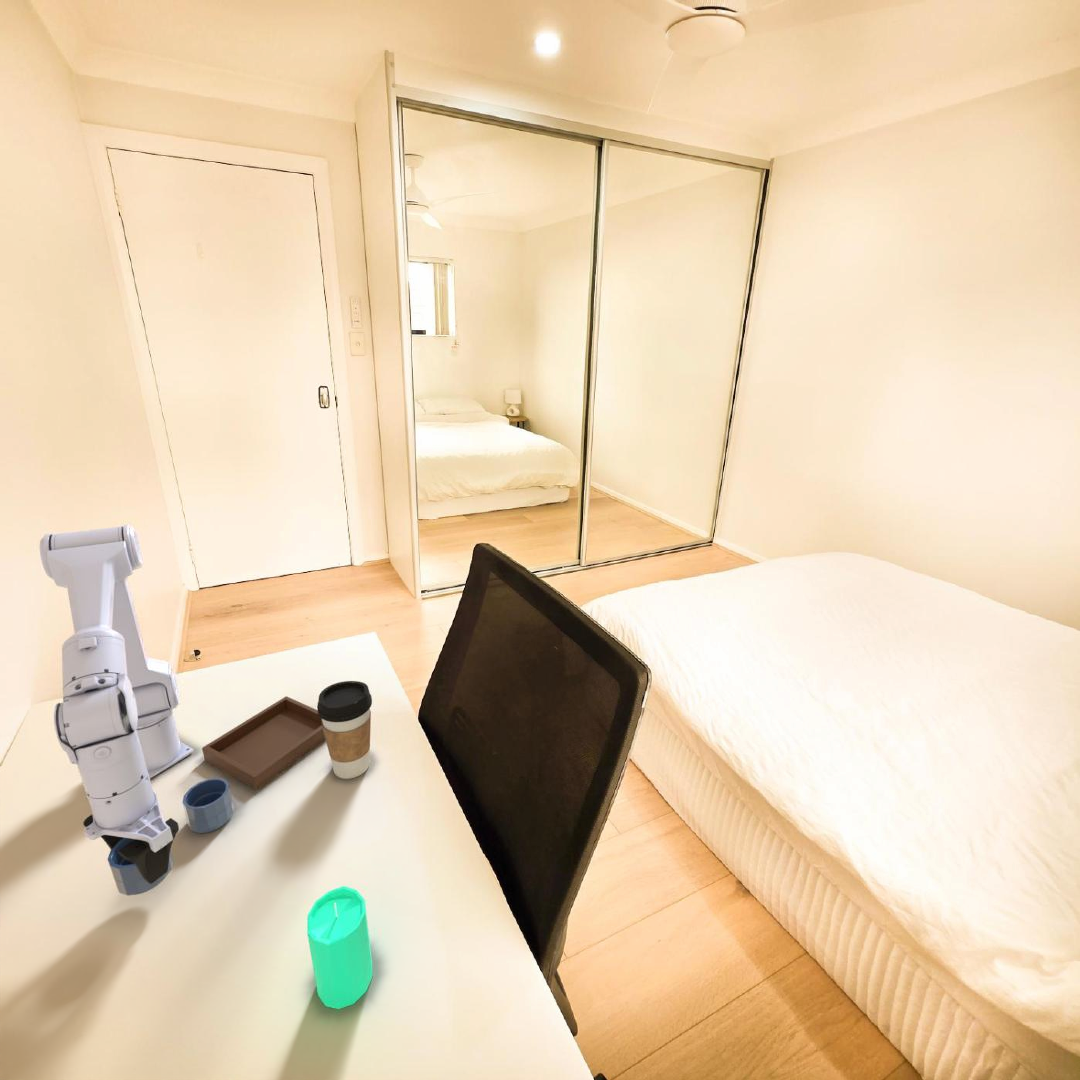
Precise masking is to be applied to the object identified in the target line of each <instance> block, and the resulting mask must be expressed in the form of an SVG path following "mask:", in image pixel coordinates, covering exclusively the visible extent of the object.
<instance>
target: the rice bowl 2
mask: <svg viewBox="0 0 1080 1080" xmlns="http://www.w3.org/2000/svg"><path fill="white" fill-rule="evenodd" d="M181 802H182V806H183V809H184V810H183V811H184V814H185V818H186V823H187V825H188V828H189V829H190V831H191V832H195V833H197V834H206V833H210V832H213V831H216V830H218V829H219V828H222V826H225V824H226V823H227V822H228V821H229V820H230V819H231V817H232V815H233V814H234V810H235V806H234V801H233V796H232V791H231V786H230V783H229V782H228V781H227V779H225V778H221V777H212V778H207V779H205V780H202V781H199V782H197V783H196V784H194V785H193V786H192V787H190V788H189V789H188V790H187V791H186V793H184V795H183V799H182V801H181Z"/></svg>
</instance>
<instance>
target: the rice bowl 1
mask: <svg viewBox="0 0 1080 1080" xmlns="http://www.w3.org/2000/svg"><path fill="white" fill-rule="evenodd" d="M133 840H134V839H131V838H123V839H121V840H120V841H118V843H117V844H116V845H115V846H114V847H113V848H112V849H110V851H109V854H108V857H107V862H108V865H109V868H110V872H111V875H112V877H113V881H114V883H115V886H116V889H117V892H118V893H120V894H122V895H125V896H137V895H143V894H144V893H147V892H149V891H151V890H153V889H154V888H157V886H159V885H160V884H161V883H163V881H164V880H165V879H166V877H167V876H168V875H169V874H170V873H171V871H172V869H173V866H174V862H175V861H174V857H173V853H172V848H171V849H170V856H169V866H168V871H167V872H166V873H165V874H164V875H163V876H161V877H160V878H159V879H157V880H156V881H155V882H153V883H152V884H150V883H148V882H147V881H146V880H145V879H144V878H143V876H142V875H141V873H140V871H139V870H138V868H137V866H136V865H135V864H134V863H132V862H130V861H128V860H126V859H125V858H124V857H123V856H121V855H120V854H119V853H118V850H120V849H121V848H123V847H124V846H126V845H127V844H129V843H130V842H131V841H133Z"/></svg>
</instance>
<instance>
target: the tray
mask: <svg viewBox="0 0 1080 1080" xmlns="http://www.w3.org/2000/svg"><path fill="white" fill-rule="evenodd" d="M321 721H322V718H321V717H320V716H319V715H318V709H317V708H314V707H311V706H309V705H307V704H306V703H305V704H304V703H302V702H300V701H299V700H296V699H293V698H291V697H289V696H287V695H286V696H283V698H281V699H279V700H277V701H276V702H274V703H273V704H271V705H269V706H267V707H265V708H264V709H263V710H261V711H260V712H258V713H256V714H254V715H253V716H252V717H250V718H248V719H246V720H245V721H243V722H242V723H240V724H238V725H237V726H235V727H234V728H232V729H230V730H229V731H227V732H225V733H224V734H222V735H220V736H219V737H217V738H215V739H214V740H212V741H211V742H209V743H207V744H206V745H204V746H203V747H202V748H201V750H202V755H203V759H204V761H206V762H207V763H209V764H211V765H213V766H214V767H216V768H218V769H219V770H220V771H222V772H224V773H226V774H227V775H230V776H231V777H233V778H234V779H236V780H238V781H240V782H242V783H243V784H245V785H246V786H248V787H250V788H252V789H253V790H255V791H258V790H259V789H260V788H262V787H263V786H264V785H266V784H267V783H268V782H269V781H271V780H272V779H273V778H275V777H276V776H277V775H279V774H281V772H283V771H284V770H286V769H287V768H288V767H290V766H291V765H293V764H294V763H295V762H297V761H298V760H299V759H300V758H302V757H303V756H305V755H306V754H307V753H309V752H310V751H311V750H313V749H314V748H315V747H316V746H318V745H319V744H321V743H322V742H323V741H324V740H326V739H325V735H324V731H323V727H322V723H321Z"/></svg>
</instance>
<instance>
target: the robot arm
mask: <svg viewBox="0 0 1080 1080" xmlns="http://www.w3.org/2000/svg"><path fill="white" fill-rule="evenodd" d="M136 531H137V530H136V529H135V528H134V527H133V526H131V525H130V524H123V526H121V525H120V526H112V527H103V528H96V529H85V530H79V531H69V532H62V533H61V532H60V533H45V534H44V535H43V537H42V538H41V539H40V541H39V556H40V560H41V564H42V567H43V570H44V572H45V574H46V576H47V577H48V578H50V579H52V580H53V581H54V584H55V585H56V587H60V588H65V589H67V595H68V601H69V607H70V614H71V619H72V625H73V632H74V634H72V635H71V636H69V637H68V638H67V639H66V640H65V641H64V642H63V644H62V646H61V662H62V663H61V664H62V665H61V666H62V667H61V668H62V669H61V670H62V674H61V675H62V702H57V703H56V704H55V705H54V711H53V725H54V730H55V731H54V732H55V734H56V737H57V741H58V743H59V745H60V747H61V749H62V750H63V751H64V752H65V753H66V755H67V757H68V759H69V761H70V762H69V763H70V764H72V765H76V767H77V769H78V773H79V776H80V778H81V782H82V784H83V787H84V790H85V791H84V792H85V794H86V798H87V801H88V803H89V806H90V809H91V814H90V815H89V816H87V817H86V818H85V819H84V820H83V826H84V827H85V828H84V829H83V832H84V835H85V837H87V838H88V839H89V840H90V841H95V840H98V839H99V838H101V839H102V840H103V841H104V842H105V843H106V845H107V847H108V848H109V849H110V850H111V849H112V848H113V847H114V846H115V845H116V844H117V843H118V841H120V840H121V839H123V838H131V839H134V840H133V841H131V842H130V843H129V844H127V845H126V846H124V847H123V848H121V849H120V850H118V853H119V854H120V855H121V856H123V857H124V858H125V859H126V860H128V861H130V862H132V863H134V864H135V865H136V866H137V868H138V870H139V871H140V873H141V875H142V876H143V878H144V879H145V880H146V881H147V882H148V883H150V884H152V883H153V882H155V881H156V880H157V879H159V878H160V877H161V876H163V875H164V874H165V873H166V872H167V871H168V866H169V856H170V849H171V850H172V845H173V842H174V840H175V838H176V836H177V834H178V832H179V830H180V825H179V822H178V821H176V820H175V819H174V818H172V817H170V818H168V819H167V820H165V819H164V816H163V811H162V809H161V806H160V802H159V798H158V795H157V793H156V792H155V791H154V788H153V785H152V781H151V779H152V778H154V777H155V776H157V775H159V774H161V772H164V771H165V770H168V768H171V766H173V765H175V764H177V763H178V762H179V761H182V760H183V759H185V758H186V757H188V756H190V755H191V754H193V753H194V748H192V747H191V746H189V745H187V744H185V743H183V742H182V741H181V739H180V736H179V732H178V727H177V723H176V720H175V719H176V718H175V715H174V711H173V710H174V709H176V708H177V707H178V706H179V704H180V693H179V686H178V682H177V678H176V674H175V673H174V671H173V668H172V665H171V664H170V663H169V661H166V660H162V659H157V658H152V657H148V653H147V651H146V650H147V649H146V645H145V642H144V639H143V634H142V630H141V628H140V624H139V623H140V622H139V620H138V616H137V615H138V614H137V612H136V608H135V605H134V600H133V597H132V592H131V589H130V585H129V582H128V577H130V576H132V575H133V574H134V571H136V570H138V569H142V567H143V564H144V563H143V556H142V552H141V546H140V543H139V542H140V541H139V539H138V534H137V532H136Z"/></svg>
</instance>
